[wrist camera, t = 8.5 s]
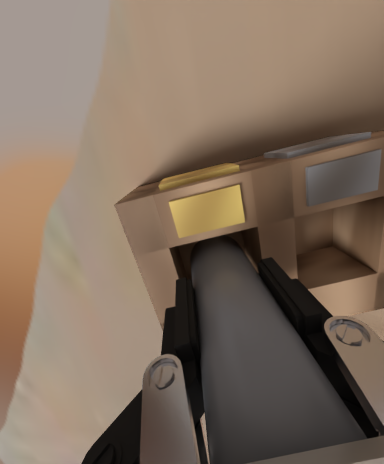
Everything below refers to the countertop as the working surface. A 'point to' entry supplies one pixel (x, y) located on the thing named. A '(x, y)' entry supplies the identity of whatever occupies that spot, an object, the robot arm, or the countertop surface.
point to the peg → (257, 366)
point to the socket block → (273, 220)
